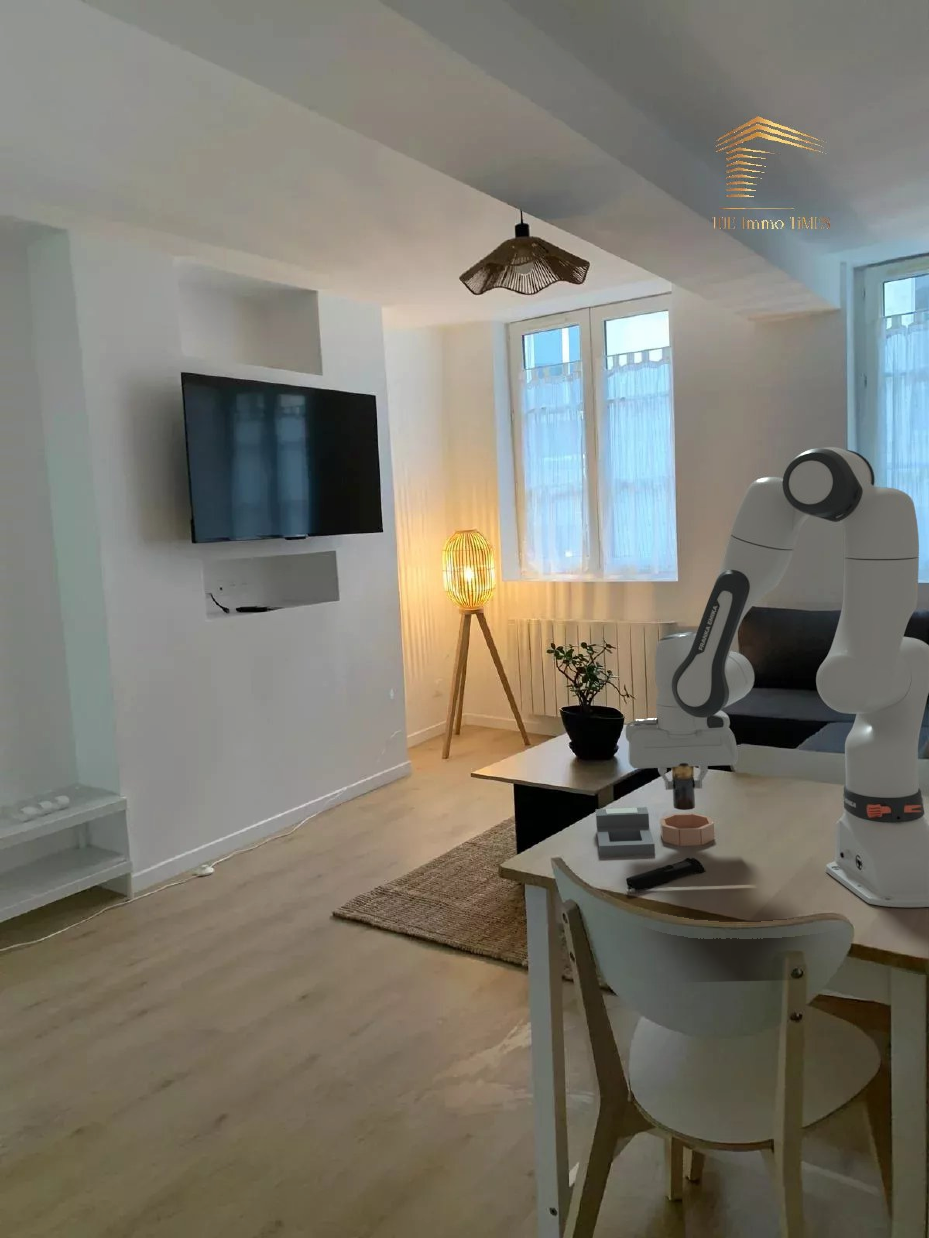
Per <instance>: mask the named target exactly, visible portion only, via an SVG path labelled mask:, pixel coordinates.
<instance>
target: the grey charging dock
mask: <svg viewBox="0 0 929 1238" xmlns="http://www.w3.org/2000/svg"><path fill="white" fill-rule="evenodd" d="M649 815H650V813H649V811H648V808H647V806H646V807H645V806H644V807H643V806H642V807H621V808H620V807H619V808H616V807H615V808H598V809H597V808H596V809H595V821H596V834H597V835H596V837H597V843H598V852H599V858H601V857H603V858H604V857H627V856H628V857H630V856H631V857H634V856H636V857H637V856H655V855H656V849H655V848H656V847H655V845H656V844H655V842H654V838H653V835H652V831H651V827H650V816H649Z"/></svg>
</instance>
